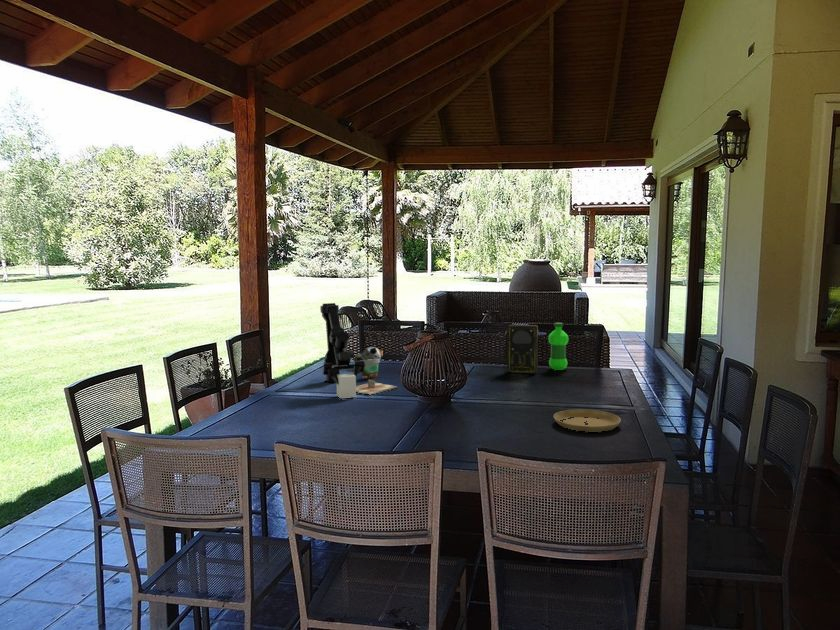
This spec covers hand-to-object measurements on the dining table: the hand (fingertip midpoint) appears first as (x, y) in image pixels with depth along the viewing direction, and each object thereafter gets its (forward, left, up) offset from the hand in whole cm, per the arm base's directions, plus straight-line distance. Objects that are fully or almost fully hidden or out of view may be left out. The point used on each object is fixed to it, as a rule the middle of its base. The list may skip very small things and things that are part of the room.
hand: (346, 383), depth 281 cm
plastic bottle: (+45, +111, -7) cm, 120 cm away
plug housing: (-1, +1, -7) cm, 7 cm away
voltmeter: (+34, +94, -7) cm, 100 cm away
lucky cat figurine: (-43, +57, -7) cm, 72 cm away
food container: (-20, +37, -7) cm, 42 cm away
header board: (-2, +18, -7) cm, 19 cm away
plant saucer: (+103, +25, -7) cm, 106 cm away
